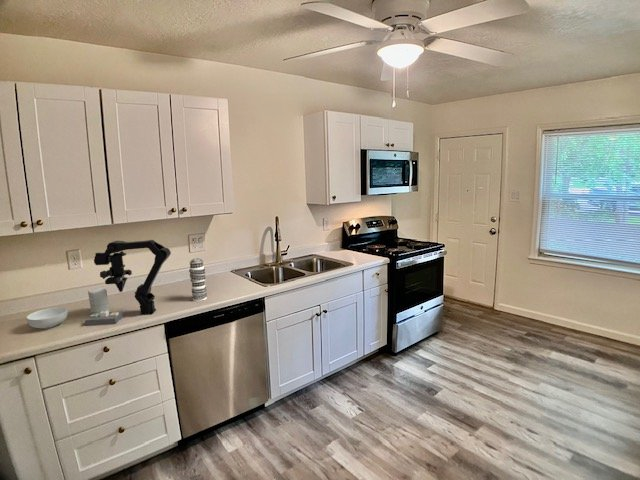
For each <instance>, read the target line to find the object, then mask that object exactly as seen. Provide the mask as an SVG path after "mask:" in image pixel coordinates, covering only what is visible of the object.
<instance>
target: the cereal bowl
mask: <svg viewBox="0 0 640 480" xmlns="http://www.w3.org/2000/svg"><path fill="white" fill-rule="evenodd" d="M68 313H69V312H68V308H66V307H60V306H56V307H49V308H44V309H40V310H37V311H33V312H31V313H30V314H28V315H27V316H26V321H27V324H28V325H29V326H30V327H32V328H35V329H42V330H43V329H44V330H47V329H53V328H54V327H57V326H59V325H60V324H62V323H63V322H65V321H66V319H67V318H68Z"/></svg>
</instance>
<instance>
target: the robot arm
mask: <svg viewBox="0 0 640 480" xmlns="http://www.w3.org/2000/svg"><path fill="white" fill-rule="evenodd" d="M136 249H137V250H138V249H149V251H150V252H151V254H153V255H154V256H155V257H154V260H153V261H154V262H153V265H152V266H151V269H150V270H149V273H148V274H147V277H146V279H145V281H144V283H141V284H139V285H138V287H137V288H136V291H135V292H134V299H135V300H136V301H137V302H138V304H139V311H140V315H153V314H154V313H155V312H156V311H157V308H156V307H155V296H156V295H155V294H154V293H151V291H152V286H153V284H154V281H155V280H156V278H157V276H158V274H159V272H160V270H161V268H162V266H163V264H164V263H165V262H166V261H167V260H168V259H169V257H170V256H171V254H172V252H171V250H170V248H168V247H166V246H164V245H162V244H160V243H158V242H156V241H155V240H154V239H149V240H148V239H147V240H137V241H136V240H135V241H124V240H113V241H112V242H108V244H107V246H106V249H105V251H104V252H95V254H94V255H95V256H94V259H93V262H94V265H95V266H108V265H111V266H110V267H109V269H108V270H102V271H100V272H99V277H100V278H102V279H103V280H104V283H105V285H115V286H116V288H117V289H118V292H119V293H122V292H123V290H124V287H125V285H126V283H127V280H128V277H126V275H128V276H131V275H133V273H132V270H131V269H125V267H126V264H124V260H123V257H124V256H126V255H127V253H126V252H124V251H126V250H136Z"/></svg>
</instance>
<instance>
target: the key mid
mask: <svg viewBox="0 0 640 480" xmlns="http://www.w3.org/2000/svg"><path fill="white" fill-rule="evenodd" d="M109 312H110V310H109V311H102V312H101V313H100V317H107V316H108V315H109Z"/></svg>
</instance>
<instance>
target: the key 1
mask: <svg viewBox="0 0 640 480" xmlns="http://www.w3.org/2000/svg"><path fill="white" fill-rule="evenodd" d="M98 316H99V313H98V314H94V313H92V314H91V315H90V316H89V317H90V318H95V317H98Z"/></svg>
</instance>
